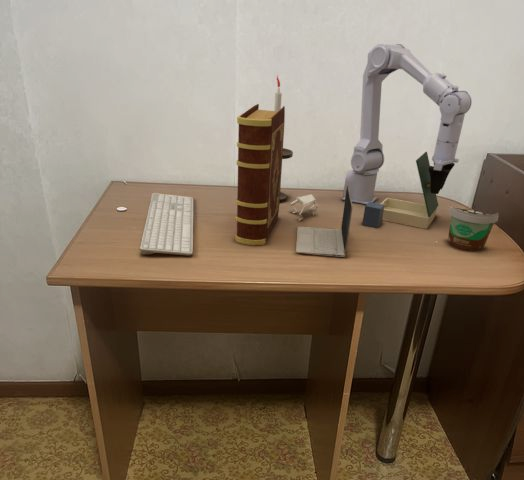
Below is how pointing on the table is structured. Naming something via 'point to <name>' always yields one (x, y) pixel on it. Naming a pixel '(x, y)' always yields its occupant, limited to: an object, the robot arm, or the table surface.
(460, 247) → the food container
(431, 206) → the box lid
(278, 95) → the candlestick
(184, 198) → the keyboard
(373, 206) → the block
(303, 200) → the origami figure
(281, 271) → the table surface
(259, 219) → the decorative book
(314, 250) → the laptop
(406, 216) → the tan tray
